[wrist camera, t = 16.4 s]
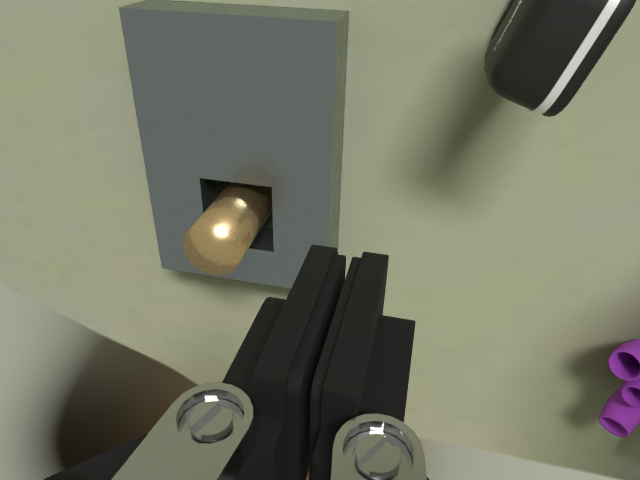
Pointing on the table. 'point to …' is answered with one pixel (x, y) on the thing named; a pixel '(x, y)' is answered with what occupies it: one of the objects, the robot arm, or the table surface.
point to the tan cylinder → (228, 228)
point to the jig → (240, 122)
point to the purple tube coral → (624, 391)
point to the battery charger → (550, 49)
